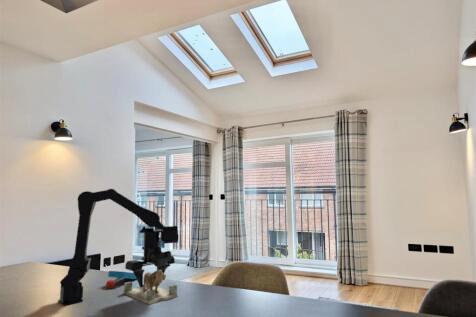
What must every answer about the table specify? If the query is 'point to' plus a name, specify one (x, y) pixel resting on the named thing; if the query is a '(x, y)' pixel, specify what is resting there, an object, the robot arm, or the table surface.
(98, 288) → the table surface
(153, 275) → the lion figurine
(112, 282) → the lever
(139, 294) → the cradle jig
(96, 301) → the table surface
